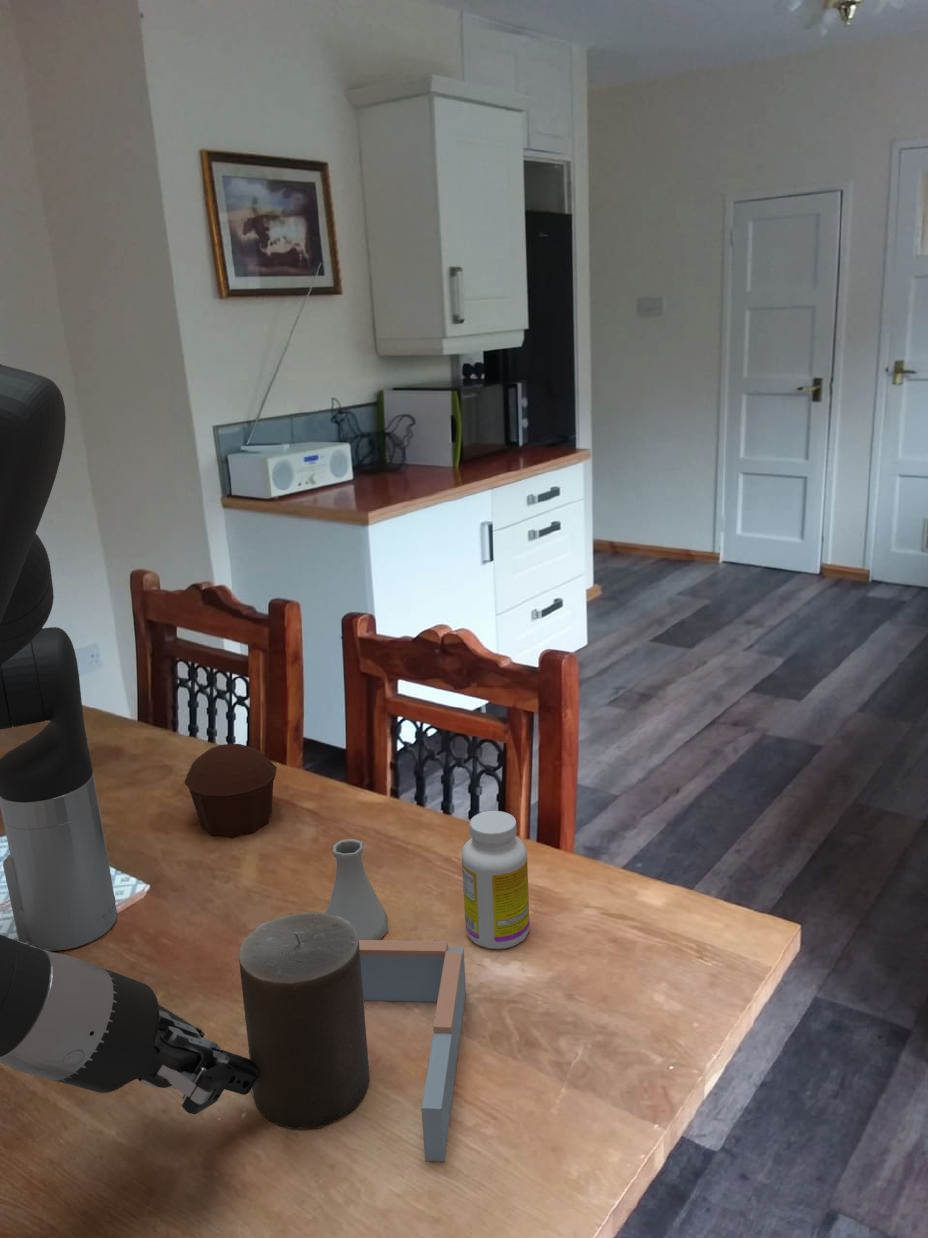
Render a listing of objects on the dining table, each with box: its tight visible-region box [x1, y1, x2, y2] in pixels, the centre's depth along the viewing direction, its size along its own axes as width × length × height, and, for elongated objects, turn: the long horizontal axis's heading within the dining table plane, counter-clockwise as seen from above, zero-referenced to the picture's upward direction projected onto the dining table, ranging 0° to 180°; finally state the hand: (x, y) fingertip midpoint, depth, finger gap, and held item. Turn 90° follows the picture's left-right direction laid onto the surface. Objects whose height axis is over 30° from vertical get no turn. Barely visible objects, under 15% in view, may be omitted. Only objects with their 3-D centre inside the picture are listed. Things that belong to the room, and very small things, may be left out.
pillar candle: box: [238, 911, 370, 1130], centre depth 81 cm, size 10×10×15 cm
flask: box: [325, 838, 389, 940], centre depth 102 cm, size 7×7×10 cm
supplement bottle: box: [461, 810, 530, 950], centre depth 100 cm, size 7×7×13 cm
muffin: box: [184, 743, 277, 840], centre depth 126 cm, size 12×11×10 cm
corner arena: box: [359, 939, 467, 1163], centre depth 84 cm, size 20×20×6 cm
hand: (250, 1078), depth 78 cm, fingers closed
